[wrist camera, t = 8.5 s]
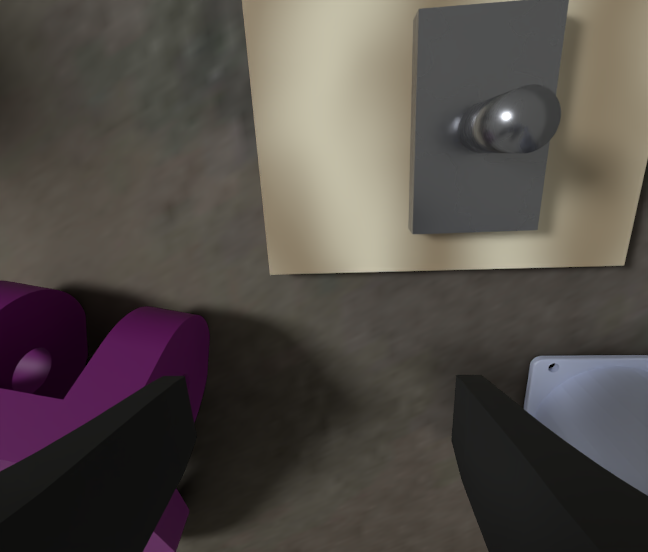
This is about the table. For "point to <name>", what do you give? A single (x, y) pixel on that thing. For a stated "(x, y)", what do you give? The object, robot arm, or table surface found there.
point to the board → (394, 140)
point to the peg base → (483, 114)
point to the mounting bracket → (88, 374)
